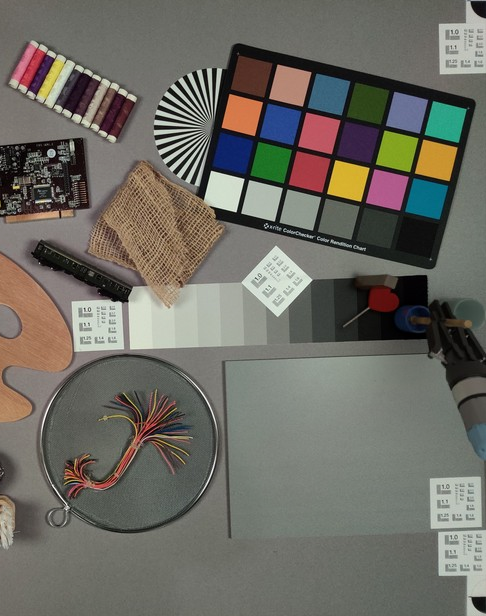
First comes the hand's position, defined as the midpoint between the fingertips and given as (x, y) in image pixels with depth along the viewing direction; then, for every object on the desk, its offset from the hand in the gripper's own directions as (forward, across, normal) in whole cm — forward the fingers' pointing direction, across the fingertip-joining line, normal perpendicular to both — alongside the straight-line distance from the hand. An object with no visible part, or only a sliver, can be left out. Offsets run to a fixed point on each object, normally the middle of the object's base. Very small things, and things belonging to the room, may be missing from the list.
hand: (437, 304), depth 134 cm
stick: (+3, 0, -9) cm, 9 cm away
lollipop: (+4, -11, -9) cm, 15 cm away
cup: (+6, +8, -8) cm, 13 cm away
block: (+8, -14, -5) cm, 17 cm away
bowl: (+4, -1, -10) cm, 10 cm away
